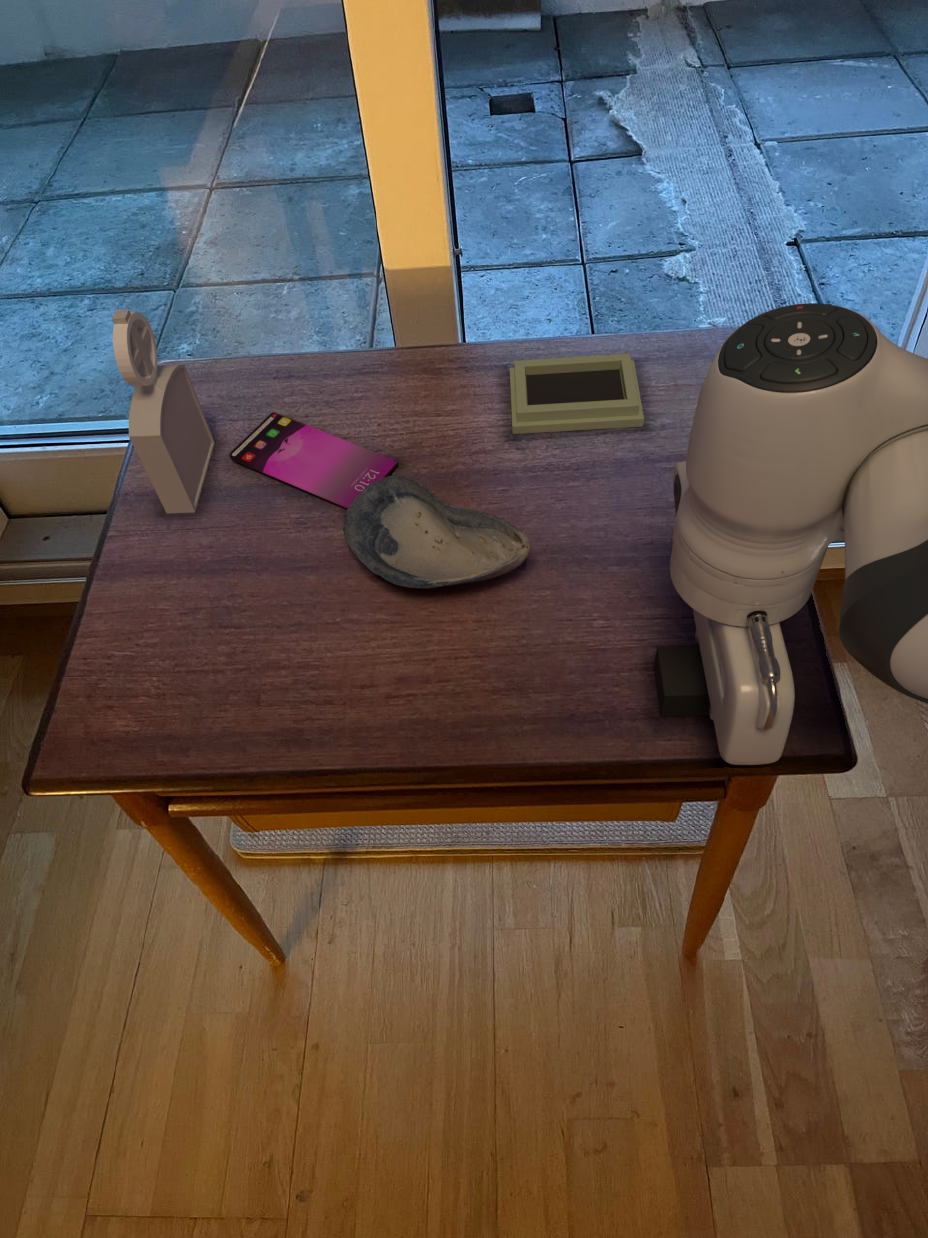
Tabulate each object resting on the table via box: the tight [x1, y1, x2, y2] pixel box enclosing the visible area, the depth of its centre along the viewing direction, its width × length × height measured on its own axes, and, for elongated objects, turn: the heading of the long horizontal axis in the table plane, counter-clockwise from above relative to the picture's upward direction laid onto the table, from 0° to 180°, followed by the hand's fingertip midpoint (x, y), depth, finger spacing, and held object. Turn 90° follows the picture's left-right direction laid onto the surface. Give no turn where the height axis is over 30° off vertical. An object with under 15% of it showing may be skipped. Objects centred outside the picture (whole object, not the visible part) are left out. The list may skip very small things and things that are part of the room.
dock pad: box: [509, 352, 645, 435], centre depth 89 cm, size 12×9×2 cm
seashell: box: [342, 475, 532, 589], centre depth 77 cm, size 15×12×5 cm
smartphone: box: [228, 411, 399, 510], centre depth 87 cm, size 7×15×1 cm, turn 59°
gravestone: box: [111, 308, 216, 515], centre depth 80 cm, size 3×9×18 cm, turn 178°
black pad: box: [653, 643, 710, 718], centre depth 68 cm, size 8×4×3 cm, turn 90°
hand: (713, 677), depth 68 cm, fingers closed on black pad, 4 cm apart
